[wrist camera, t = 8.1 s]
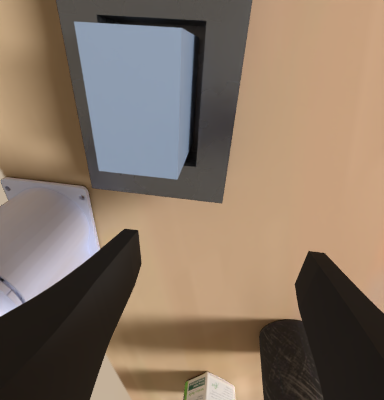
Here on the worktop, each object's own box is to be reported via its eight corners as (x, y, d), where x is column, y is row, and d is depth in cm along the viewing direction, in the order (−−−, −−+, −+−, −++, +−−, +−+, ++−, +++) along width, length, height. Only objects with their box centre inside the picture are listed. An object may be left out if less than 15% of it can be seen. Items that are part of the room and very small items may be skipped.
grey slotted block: (223, 179, 19) (221, 209, 15) (113, 167, 19) (86, 193, 16) (282, -237, 9) (317, -430, 6) (61, -230, 10) (-36, -395, 6)
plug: (192, 141, 17) (177, 179, 12) (137, 135, 17) (98, 170, 12) (199, 37, 13) (181, 28, 8) (130, 33, 14) (74, 21, 9)
